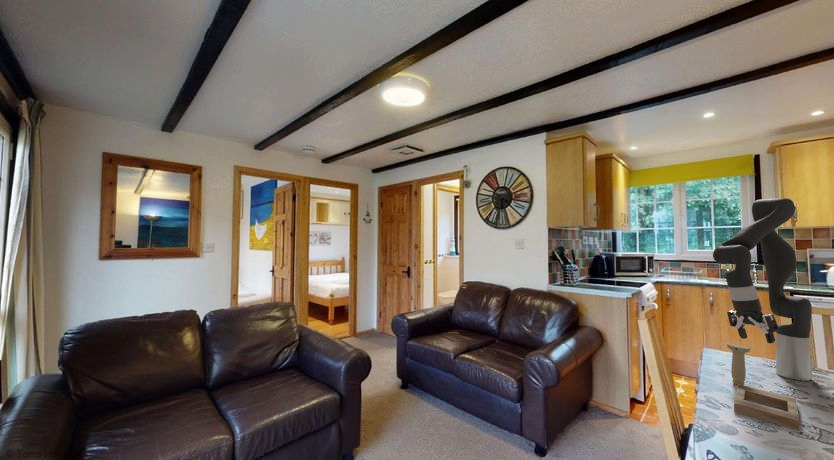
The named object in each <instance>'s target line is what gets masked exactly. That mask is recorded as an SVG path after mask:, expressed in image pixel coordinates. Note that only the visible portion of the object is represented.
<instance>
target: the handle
mask: <svg viewBox="0 0 834 460" xmlns="http://www.w3.org/2000/svg"><path fill="white" fill-rule="evenodd" d="M726 348H728V349H729V350H730V351H732V356H731V360H732V361H731V370H730V371H731V378H732V383H733V384H735V385H736V386H738V384H740V385H744V386H745V384H746V383H745V382H746V381H745V380H746V369H747V368H746V361H745V358H746V357H745V355H746V353H749V352H751V347H750V346H747V345H743V344H738V343H733V342H728V343H727V344H726Z"/></svg>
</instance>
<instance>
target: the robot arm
mask: <svg viewBox="0 0 834 460" xmlns="http://www.w3.org/2000/svg"><path fill="white" fill-rule="evenodd" d="M751 214H752V218H753V222H751V223H749V224H747V225H746V226H743V227H742V228H741V229H740V230H738V231H737V232H736V233H735V235H733V237H732V238H729V239H728V240H725V241H724V242H722V243H721V244H719V245H718V246H716V247H715V249H714V250H713V252H712V258H713V260H714V261H715V262H716V263H717V264H720V265H735V267H734V269H730V270H728V271H726V272H725V273H724V277H725V280H726V284H727V288H728V294H729V297H730V300H731V304H732V308H733V309H731V310H728V311H726V313H727V317H728V322H729V325H730V326H731V327H734V328H735V329H737V332H738V336H739V337H740V339H743V340H745V339H747V338H748V334H747V331H746V328H745V326H746V325H751V326H756V327H757V328H758V329H760V330H762V331H763V332H764V336H765V340H766V343H767V344H769V345H770V344H773V343H775V372H776V374H777V375H778V376H781V377H784V378H787V379H790V380H794V379H795V381H800V380H801V381H803V382H809V381H810V380H813V371H812V370H813V361H812V359H813V358H812V355H811V353H810V352H811V347H810V346H811V345H810V343H811V340H810V339H811V338H810V336H811V335H810V334H811V325H812V314H813V313H812V310H813V309H812V308H813V307H812V304H811V301H810V300H809V299H808V298H806V297H801V296H800V297H799V296H793V295H786V294H785V291H784V290H785V289H784V288H785V284H786V282H787V281H788V280H789V278H791V277H792V275H793V274H794V273H795V272H796V270H797V268H798V261H797V255H796V252H795V250H794V248H793V246H792V245H791V244H789V243H788V242H787V241H786V240H785V239H784V238H783V237H781V236H780V234H779V233H777V231H776V229H777V228H779V227H780V226H782V225H784V224H785V223H786V222H788V221H790V219H791V218H792V217H793V216H794V215H795V214H796V206H795V202H794V201H793V200H792V199H790V198H785V197H778V198H777V197H776V198H775V197H774V198H764V199H763V198H762V199H757V200H754V202H753V203H752V206H751ZM759 243H760V247H761V252H762V253H761V255H762V259H763V260H762V261H763V265H764V270H765V273H766V274H765V275H766V279H767V280H766V281H767V285H768V300H769V309H770V311H771V313H770V314H764V313H763V312H762V309H763V307H762V304H761V302H760V298H759V295H758V292H757V289H756V287H755V285H754V282H753V279H752V274H751V267H752V266H751V265H752V253H751V250H753V249H755V247H756V246H757V245H758V244H759ZM775 316H778V317H782V318H786V319H793V323H790V324H779V325H778V323H777V321H776V318H775ZM774 333H775V334H774ZM801 381H800V382H801Z"/></svg>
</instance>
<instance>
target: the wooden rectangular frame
mask: <svg viewBox="0 0 834 460" xmlns="http://www.w3.org/2000/svg"><path fill="white" fill-rule="evenodd" d="M734 397H735V398H734V401H733V413H737V414H740V415H744V416H747V417H750V418H754V419H757V420H761V421H764V422H767V423H770V424H774V425H778V426H781V427H786V428H789V429H792V430H795V431H800V417H799V412H798V404H797V399H796V398H795V397H793V396H788V395H784V394H781V393H776V392H772V391H768V390H764V389H759V388H756V387H752V386H748V385H745V384H744V385H740V384H738V385H737V388H736V393H735V396H734ZM748 400H749V401H748ZM759 403H760V404H759ZM770 406H771V407H770ZM774 407H775V408H774Z"/></svg>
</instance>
